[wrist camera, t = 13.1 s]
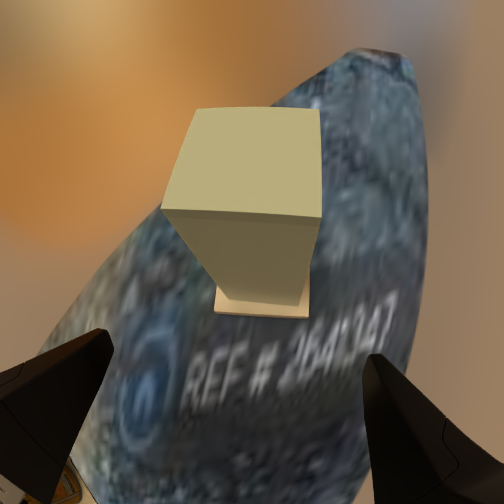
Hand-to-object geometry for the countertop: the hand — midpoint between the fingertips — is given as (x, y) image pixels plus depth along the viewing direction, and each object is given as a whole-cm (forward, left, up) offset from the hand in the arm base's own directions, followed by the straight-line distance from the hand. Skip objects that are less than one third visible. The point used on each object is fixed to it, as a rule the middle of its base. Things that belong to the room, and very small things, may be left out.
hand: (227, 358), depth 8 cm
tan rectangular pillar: (+7, +2, -11) cm, 13 cm away
